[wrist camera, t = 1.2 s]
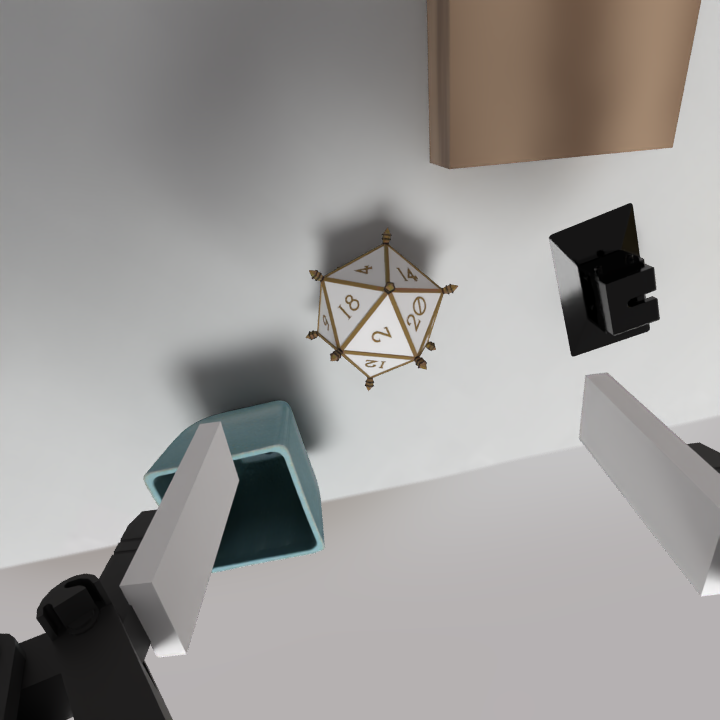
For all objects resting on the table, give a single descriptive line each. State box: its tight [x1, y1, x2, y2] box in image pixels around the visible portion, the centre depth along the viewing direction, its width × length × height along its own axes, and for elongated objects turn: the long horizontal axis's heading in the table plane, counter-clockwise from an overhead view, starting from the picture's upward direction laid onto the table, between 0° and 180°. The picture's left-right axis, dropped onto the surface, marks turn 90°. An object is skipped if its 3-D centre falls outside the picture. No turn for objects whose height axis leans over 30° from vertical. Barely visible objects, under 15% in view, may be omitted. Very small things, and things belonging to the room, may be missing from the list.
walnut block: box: [427, 0, 701, 169], centre depth 23 cm, size 11×11×6 cm
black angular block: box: [549, 203, 660, 356], centre depth 30 cm, size 12×7×5 cm, turn 22°
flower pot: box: [144, 400, 325, 573], centre depth 32 cm, size 9×9×9 cm
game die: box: [306, 228, 458, 391], centre depth 28 cm, size 9×8×10 cm
